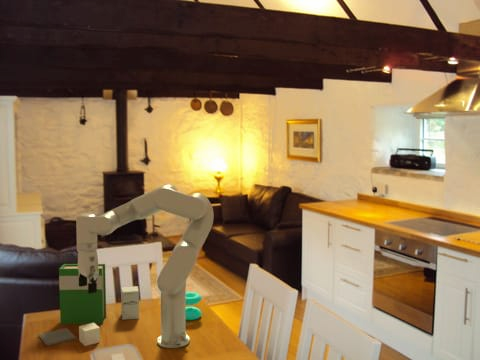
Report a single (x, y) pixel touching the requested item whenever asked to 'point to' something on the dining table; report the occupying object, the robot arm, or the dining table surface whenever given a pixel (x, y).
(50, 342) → the charcoal mat
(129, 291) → the supplement box
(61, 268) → the hardback book
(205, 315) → the dining table surface
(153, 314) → the dining table surface
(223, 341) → the dining table surface
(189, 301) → the donuts
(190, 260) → the robot arm
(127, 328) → the dining table surface
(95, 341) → the painted cube
